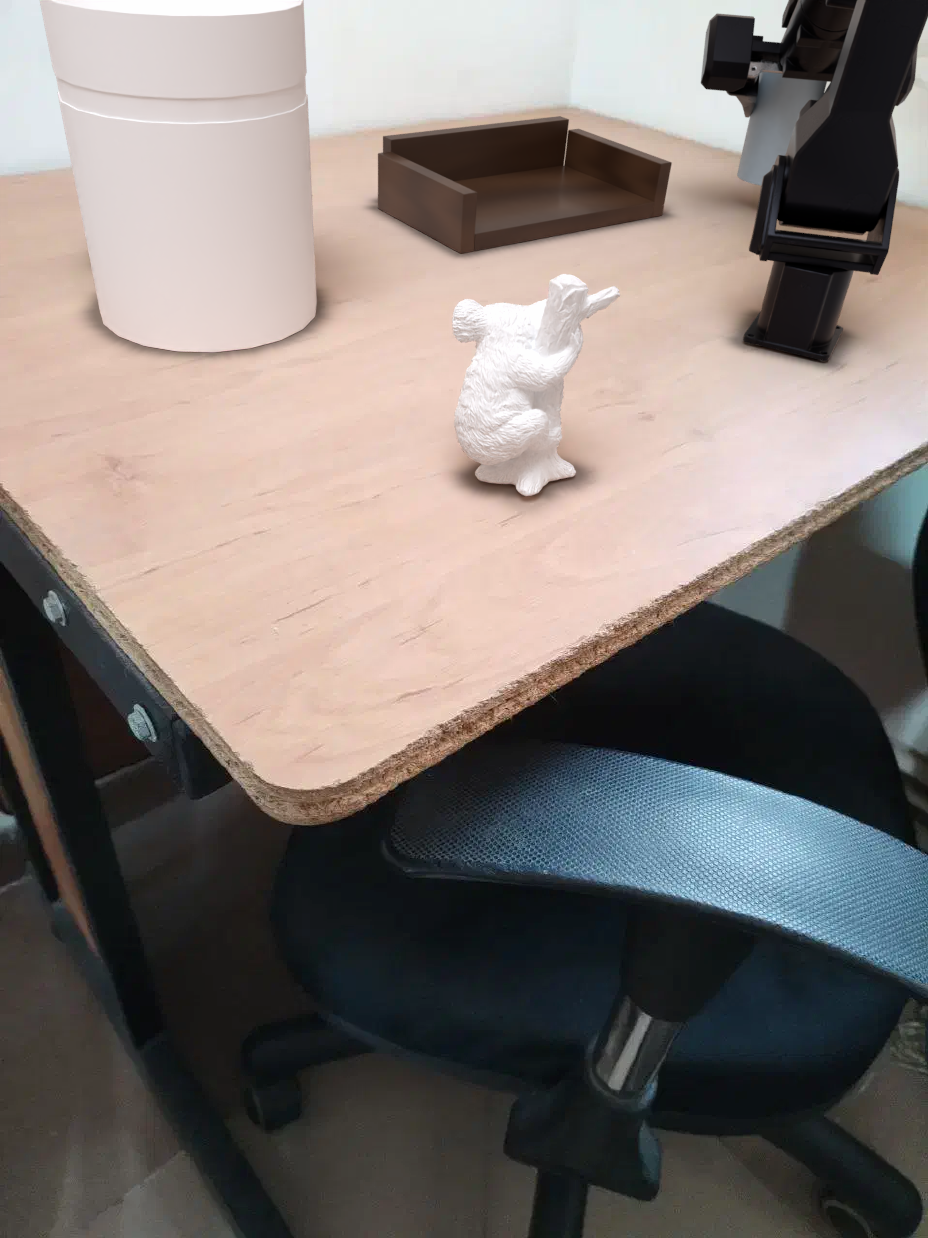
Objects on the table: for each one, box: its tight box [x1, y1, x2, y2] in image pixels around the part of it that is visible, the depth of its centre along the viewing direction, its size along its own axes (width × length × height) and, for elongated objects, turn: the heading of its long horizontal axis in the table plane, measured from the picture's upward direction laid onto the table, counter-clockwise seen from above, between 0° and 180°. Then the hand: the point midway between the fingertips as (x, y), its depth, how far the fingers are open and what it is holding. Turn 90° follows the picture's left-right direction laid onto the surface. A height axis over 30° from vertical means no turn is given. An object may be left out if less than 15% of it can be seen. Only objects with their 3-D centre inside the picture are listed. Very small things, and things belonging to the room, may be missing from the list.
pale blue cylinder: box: [736, 72, 828, 187], centre depth 96 cm, size 8×6×11 cm
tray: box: [377, 115, 673, 254], centre depth 93 cm, size 16×25×6 cm, turn 125°
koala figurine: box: [451, 273, 621, 497], centre depth 52 cm, size 8×7×12 cm
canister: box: [39, 0, 318, 353], centre depth 66 cm, size 16×16×20 cm
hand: (781, 115), depth 96 cm, fingers closed on pale blue cylinder, 6 cm apart
